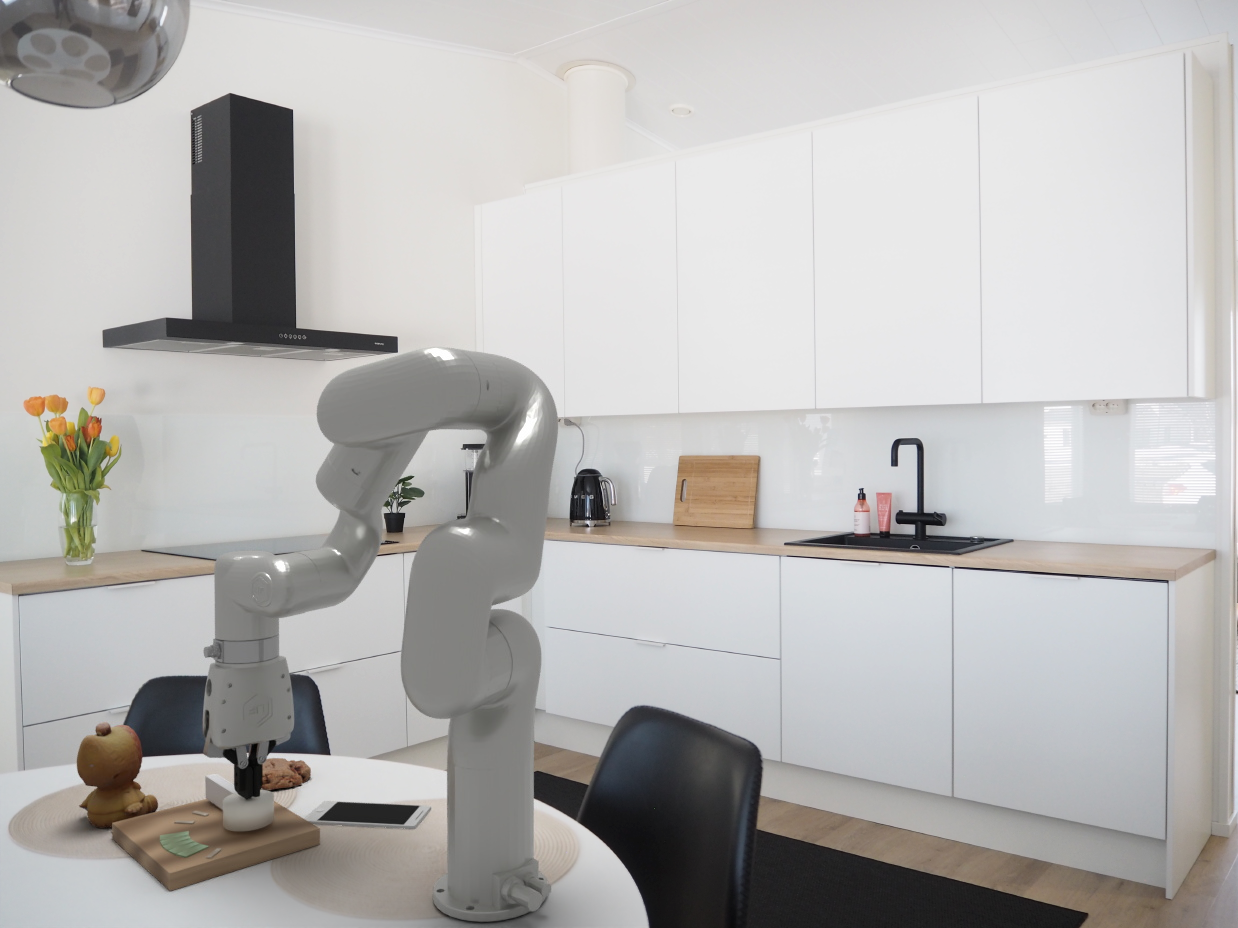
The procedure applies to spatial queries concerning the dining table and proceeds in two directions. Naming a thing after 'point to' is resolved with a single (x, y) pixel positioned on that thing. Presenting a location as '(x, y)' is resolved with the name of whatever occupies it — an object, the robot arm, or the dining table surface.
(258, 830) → the tuner board
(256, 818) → the peg dial
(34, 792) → the dining table surface
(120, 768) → the figurine
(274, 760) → the cookie
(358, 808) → the smartphone
